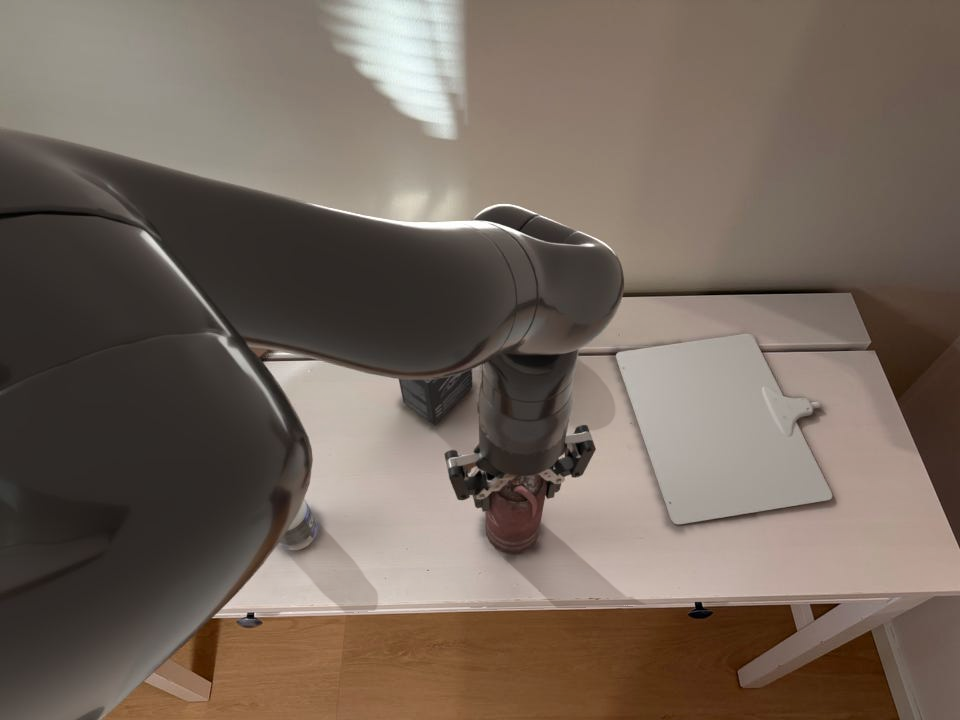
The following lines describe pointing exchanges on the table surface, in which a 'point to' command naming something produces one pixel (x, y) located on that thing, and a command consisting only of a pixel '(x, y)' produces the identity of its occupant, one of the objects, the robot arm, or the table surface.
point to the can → (516, 514)
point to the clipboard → (720, 429)
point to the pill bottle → (300, 529)
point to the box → (435, 394)
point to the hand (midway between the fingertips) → (516, 496)
